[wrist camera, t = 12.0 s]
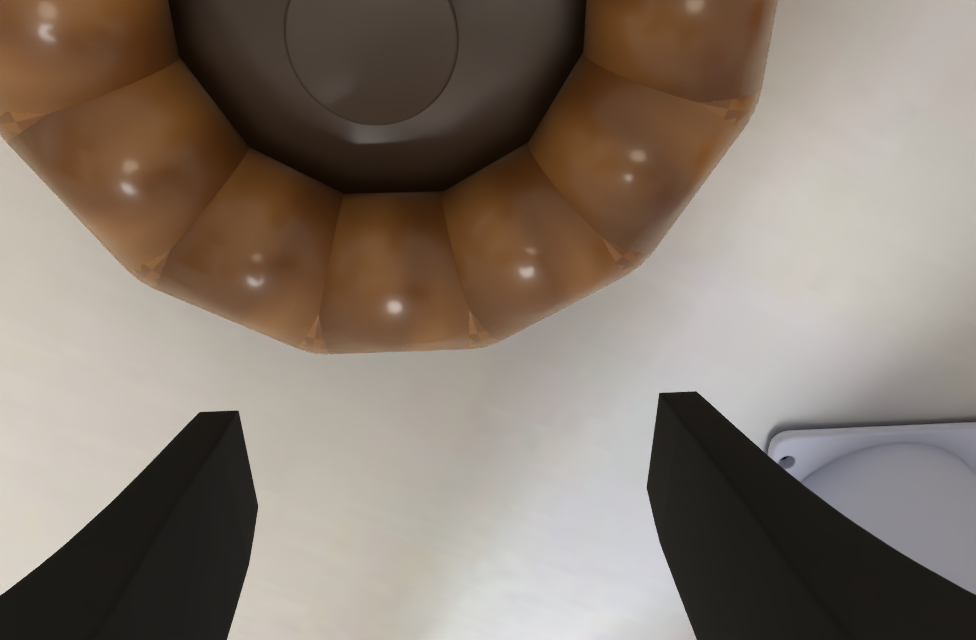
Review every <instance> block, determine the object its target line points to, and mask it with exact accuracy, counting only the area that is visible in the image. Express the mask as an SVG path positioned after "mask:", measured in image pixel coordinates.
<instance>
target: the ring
mask: <svg viewBox="0 0 976 640" xmlns="http://www.w3.org/2000/svg"><path fill="white" fill-rule="evenodd" d="M776 6H777V0H586V16H585V33H584V49H583V53H582V55H581V56H580V58H579V60H578V61H577V63H576V64H575V66H574V68H573V69H572V71H571V73H570V74H569V76H568V78H567V79H566V81H565V83H564V84H563V86H562V88H561V89H560V91H559V92H558V94H557V96H556V97H555V99H554V101H553V102H552V104H551V106H550V107H549V109H548V111H547V112H546V114H545V115H544V117H543V119H542V120H541V122H540V124H539V125H538V127H537V129H536V130H535V132H534V134H533V135H532V137H531V139H530V140H529V142H528V143H526V144H524V145H523V146H521V147H519V148H517V149H516V150H514V151H512V152H510V153H509V154H507V155H505V156H504V157H502V158H500V159H498V160H497V161H495V162H493V163H491V164H490V165H488V166H486V167H485V168H483V169H481V170H479V171H478V172H476V173H474V174H472V175H471V176H469V177H467V178H466V179H464V180H462V181H460V182H459V183H457V184H455V185H453V186H452V187H450V188H448V189H447V190H445V191H436V192H394V193H352V194H344V193H342V192H340V191H338V190H336V189H334V188H332V187H329V186H327V185H325V184H323V183H321V182H319V181H317V180H315V179H313V178H311V177H309V176H307V175H305V174H303V173H301V172H299V171H297V170H295V169H293V168H291V167H289V166H287V165H285V164H283V163H281V162H278V161H276V160H274V159H272V158H270V157H268V156H266V155H264V154H262V153H260V152H258V151H256V150H254V149H252V148H250V147H249V146H248V145H247V144H246V142H245V141H244V140H243V138H242V137H241V136H240V135H239V133H238V132H237V131H236V129H235V128H234V127H233V125H232V124H231V123H230V122H229V120H228V119H227V118H226V116H225V115H224V114H223V112H222V111H221V110H220V109H219V107H218V106H217V105H216V103H215V102H214V101H213V100H212V98H211V97H210V96H209V94H208V93H207V92H206V90H205V89H204V88H203V87H202V85H201V84H200V83H199V81H198V80H197V79H196V77H195V76H194V75H193V74H192V72H191V71H190V70H189V68H188V67H187V66H186V64H185V63H184V62H183V61H182V59H181V58H180V57H179V53H178V48H177V43H176V38H175V33H174V27H173V22H172V17H171V12H170V7H169V2H168V0H0V135H1V137H2V138H3V139H4V140H5V141H6V142H7V143H8V145H9V146H10V147H11V148H12V149H13V150H14V151H15V152H16V153H17V154H18V155H19V156H20V157H21V158H22V159H23V160H24V161H25V163H26V164H27V165H28V166H29V167H30V168H31V169H32V170H33V171H34V172H35V173H36V174H37V175H38V176H39V177H40V178H41V180H42V181H43V182H44V183H45V184H46V185H47V186H48V187H49V188H50V189H51V190H52V191H53V192H54V193H55V194H56V195H57V196H58V198H59V199H60V200H61V201H62V202H63V203H64V204H65V205H66V206H67V207H68V208H69V209H70V210H71V211H72V212H73V213H74V215H75V216H76V217H77V218H78V219H79V220H80V221H81V222H82V223H83V224H84V225H85V226H86V227H87V228H88V229H89V230H90V231H91V233H92V234H93V235H94V236H95V237H96V238H97V239H98V240H99V241H100V242H101V243H102V244H103V245H104V246H105V247H106V248H107V249H108V251H109V252H110V253H111V254H112V255H113V256H114V257H115V258H116V259H117V260H118V261H119V262H120V263H121V264H122V265H123V266H124V267H125V268H126V269H127V271H129V272H130V273H131V274H132V275H134V276H135V277H136V278H137V279H138V280H140V281H141V282H143V283H145V284H147V285H148V286H150V287H152V288H154V289H156V290H158V291H161V292H163V293H166V294H168V295H170V296H173V297H175V298H178V299H180V300H182V301H185V302H187V303H190V304H192V305H194V306H197V307H199V308H202V309H204V310H206V311H209V312H211V313H214V314H216V315H218V316H221V317H223V318H226V319H228V320H230V321H233V322H235V323H238V324H240V325H242V326H245V327H247V328H250V329H252V330H254V331H257V332H259V333H262V334H264V335H266V336H269V337H271V338H274V339H276V340H278V341H281V342H283V343H286V344H288V345H290V346H293V347H295V348H298V349H301V350H304V351H308V352H311V353H320V354H346V353H374V352H402V351H429V350H457V349H475V348H481V347H486V346H489V345H491V344H494V343H497V342H499V341H501V340H503V339H505V338H507V337H509V336H511V335H513V334H515V333H517V332H519V331H521V330H523V329H524V328H526V327H528V326H530V325H532V324H534V323H536V322H538V321H540V320H542V319H544V318H545V317H547V316H549V315H551V314H553V313H555V312H557V311H559V310H561V309H563V308H565V307H567V306H568V305H570V304H572V303H574V302H576V301H578V300H580V299H582V298H584V297H586V296H588V295H589V294H591V293H593V292H595V291H597V290H599V289H601V288H603V287H605V286H607V285H609V284H610V283H612V282H614V281H616V280H618V279H620V278H622V277H624V276H625V275H627V274H629V273H630V272H632V271H633V270H634V269H636V268H638V267H639V266H640V265H641V264H642V263H643V262H644V261H645V260H646V259H647V258H648V257H649V256H650V255H651V253H652V252H653V251H654V250H655V248H656V247H657V246H658V244H659V243H660V242H661V240H662V239H663V238H664V236H665V235H666V234H667V232H668V231H669V229H670V228H671V227H672V225H673V224H674V223H675V221H676V220H677V219H678V217H679V216H680V214H681V213H682V212H683V210H684V209H685V208H686V206H687V205H688V204H689V202H690V201H691V199H692V198H693V197H694V195H695V194H696V193H697V191H698V190H699V189H700V187H701V186H702V184H703V183H704V182H705V180H706V179H707V178H708V176H709V175H710V174H711V172H712V171H713V170H714V168H715V167H716V165H717V164H718V163H719V161H720V160H721V159H722V157H723V156H724V155H725V153H726V152H727V150H728V149H729V148H730V146H731V145H732V144H733V142H734V141H735V140H736V138H737V137H738V135H739V134H740V133H741V131H742V130H743V129H744V127H745V125H746V124H747V123H748V121H749V119H750V117H751V115H752V114H753V112H754V110H755V107H756V105H757V103H758V99H759V96H760V93H761V89H762V85H763V79H764V73H765V68H766V62H767V57H768V51H769V45H770V40H771V34H772V28H773V23H774V17H775V11H776Z"/></svg>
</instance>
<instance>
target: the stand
mask: <svg viewBox="0 0 976 640" xmlns="http://www.w3.org/2000/svg"><path fill="white" fill-rule="evenodd" d="M168 2H169V7H170V12H171V17H172V22H173V27H174V33H175V38H176V43H177V48H178V53H179V57H180V58H181V59H182V61H183V62H184V63H185V64H186V66H187V67H188V68H189V70H190V71H191V72H192V74H193V75H194V76H195V77H196V79H197V80H198V81H199V83H200V84H201V85H202V87H203V88H204V89H205V90H206V92H207V93H208V94H209V96H210V97H211V98H212V100H213V101H214V102H215V103H216V105H217V106H218V107H219V109H220V110H221V111H222V112H223V114H224V115H225V116H226V118H227V119H228V120H229V122H230V123H231V124H232V125H233V127H234V128H235V129H236V131H237V132H238V133H239V135H240V136H241V137H242V138H243V140H244V141H245V142H246V144H247V145H248V146H249V147H250V148H252V149H254V150H256V151H258V152H260V153H262V154H264V155H266V156H268V157H270V158H272V159H274V160H276V161H278V162H281V163H283V164H285V165H287V166H289V167H291V168H293V169H295V170H297V171H299V172H301V173H303V174H305V175H307V176H309V177H311V178H313V179H315V180H317V181H319V182H321V183H323V184H325V185H327V186H329V187H332V188H334V189H336V190H338V191H340V192H342V193H344V194H352V193H394V192H436V191H445V190H447V189H448V188H450V187H452V186H453V185H455V184H457V183H459V182H460V181H462V180H464V179H466V178H467V177H469V176H471V175H472V174H474V173H476V172H478V171H479V170H481V169H483V168H485V167H486V166H488V165H490V164H491V163H493V162H495V161H497V160H498V159H500V158H502V157H504V156H505V155H507V154H509V153H510V152H512V151H514V150H516V149H517V148H519V147H521V146H523V145H524V144H526V143H528V142H529V140H530V139H531V137H532V135H533V134H534V132H535V130H536V129H537V127H538V125H539V124H540V122H541V120H542V119H543V117H544V115H545V114H546V112H547V111H548V109H549V107H550V106H551V104H552V102H553V101H554V99H555V97H556V96H557V94H558V92H559V91H560V89H561V88H562V86H563V84H564V83H565V81H566V79H567V78H568V76H569V74H570V73H571V71H572V69H573V68H574V66H575V64H576V63H577V61H578V60H579V58H580V56H581V55H582V53H583V49H584V33H585V16H586V0H168Z"/></svg>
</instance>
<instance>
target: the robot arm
mask: <svg viewBox="0 0 976 640" xmlns="http://www.w3.org/2000/svg"><path fill="white" fill-rule="evenodd" d="M786 456H788V458H786V459H785V460H781V461H780V459H782V458H783V457H786ZM647 491H648V495H649V499H650V504H651V508H652V512H653V517H654V521H655V525H656V529H657V533H658V537H659V541H660V544H661V547H662V549H663V552H664V555H665V558H666V560H667V563H668V566H669V568H670V571H671V573H672V576H673V579H674V581H675V584H676V587H677V589H678V592H679V594H680V597H681V600H682V602H683V605H684V607H685V610H686V613H687V615H688V618H689V620H690V623H691V626H692V628H693V631H694V633H695V636H696V639H697V640H976V422H965V423H943V424H921V425H899V426H876V427H854V428H832V429H810V430H788V431H783V432H781V433H779V434H777V435H776V436H774V437H773V438H772V440H771V442H770V445H769V449H768V453H767V454H766V453H764V452H763V451H762V450H761V449H760V448H759V447H758V446H756V445H755V444H754V443H753V442H752V441H751V440H750V439H749V438H747V437H746V436H745V435H744V434H743V433H742V432H741V431H740V430H738V429H737V428H736V427H735V426H734V425H733V424H732V423H731V422H730V421H729V420H727V419H726V418H725V417H724V416H723V415H722V414H721V413H720V412H719V411H718V410H716V409H715V408H714V407H713V406H712V405H711V404H710V403H709V402H708V401H706V400H705V399H704V398H703V397H702V396H701V395H700V394H698V393H697V392H673V393H659V400H658V408H657V415H656V423H655V430H654V438H653V445H652V452H651V460H650V467H649V475H648V482H647ZM257 511H258V503H257V498H256V493H255V489H254V484H253V479H252V474H251V469H250V464H249V459H248V455H247V450H246V445H245V440H244V435H243V430H242V425H241V421H240V416H239V411H217V412H199V413H198V414H197V415H196V416H195V417H194V418H193V419H192V420H191V421H190V422H189V423H188V424H187V425H186V426H185V427H184V429H183V430H182V431H181V432H180V433H179V434H178V435H177V436H176V437H175V438H174V439H173V440H172V441H171V442H170V443H169V444H168V445H167V446H166V447H165V448H164V449H163V450H162V451H161V453H160V454H159V455H158V456H157V457H156V458H155V459H154V460H153V461H152V462H151V463H150V464H149V465H148V466H147V467H146V468H145V469H144V470H143V471H142V472H141V473H140V474H139V475H138V476H137V477H136V478H135V479H134V480H133V481H132V482H131V483H130V484H129V485H128V486H127V487H126V488H125V489H124V490H123V491H122V492H121V493H120V494H119V495H118V496H117V497H116V498H115V499H114V500H113V501H112V502H111V503H110V504H109V505H108V506H107V507H106V508H105V509H104V510H102V511H101V512H100V513H99V514H98V515H97V516H96V517H95V518H94V519H93V520H91V521H90V522H89V523H88V524H87V525H86V526H85V527H84V528H83V529H82V530H81V531H79V532H78V533H77V534H76V535H75V536H74V537H73V538H72V539H71V540H70V541H68V542H67V543H66V544H65V545H64V546H63V547H61V548H60V549H59V550H58V551H57V552H56V553H54V554H53V555H52V556H51V557H49V558H48V559H47V560H46V561H45V562H43V563H42V564H41V565H40V566H38V567H37V568H36V569H35V570H33V571H32V572H31V573H29V574H28V575H27V576H26V577H24V578H23V579H22V580H20V581H19V582H18V583H17V584H15V585H14V586H13V587H11V588H10V589H9V590H7V591H6V592H5V593H3V594H2V595H1V596H0V640H227V637H228V634H229V630H230V627H231V624H232V620H233V617H234V614H235V610H236V607H237V604H238V600H239V597H240V593H241V590H242V587H243V583H244V580H245V576H246V573H247V569H248V566H249V561H250V555H251V549H252V543H253V537H254V531H255V524H256V517H257Z"/></svg>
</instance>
